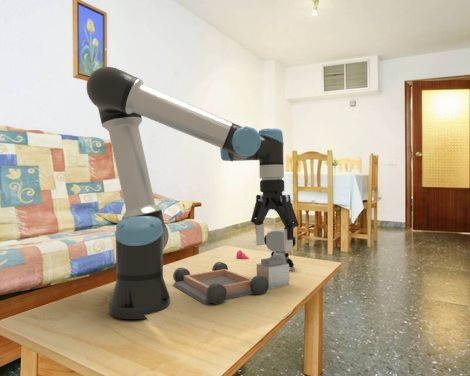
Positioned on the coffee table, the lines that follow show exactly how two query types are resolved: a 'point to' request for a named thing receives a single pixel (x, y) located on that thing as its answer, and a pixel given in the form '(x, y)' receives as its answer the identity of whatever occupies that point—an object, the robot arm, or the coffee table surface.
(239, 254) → the toy pieces
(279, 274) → the block
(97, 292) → the coffee table surface
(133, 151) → the robot arm
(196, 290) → the chassis
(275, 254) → the robot toy
